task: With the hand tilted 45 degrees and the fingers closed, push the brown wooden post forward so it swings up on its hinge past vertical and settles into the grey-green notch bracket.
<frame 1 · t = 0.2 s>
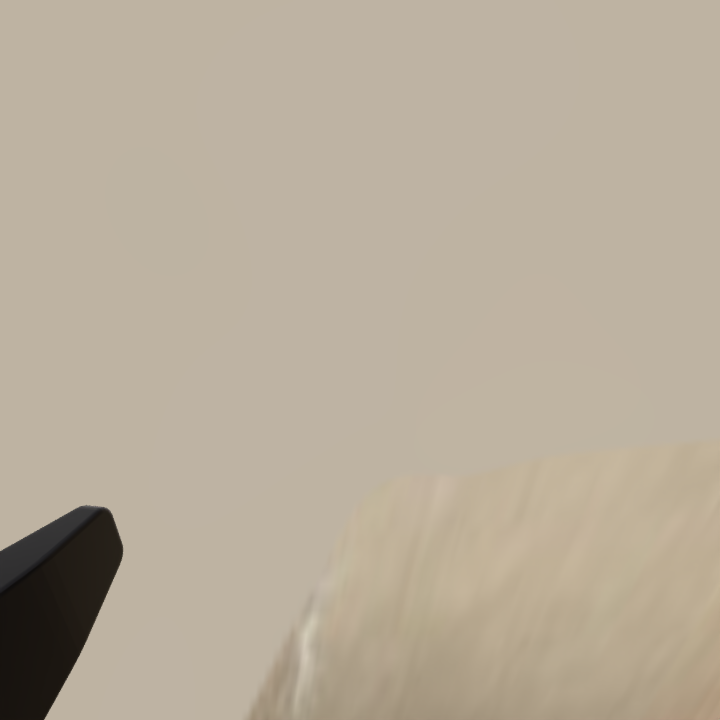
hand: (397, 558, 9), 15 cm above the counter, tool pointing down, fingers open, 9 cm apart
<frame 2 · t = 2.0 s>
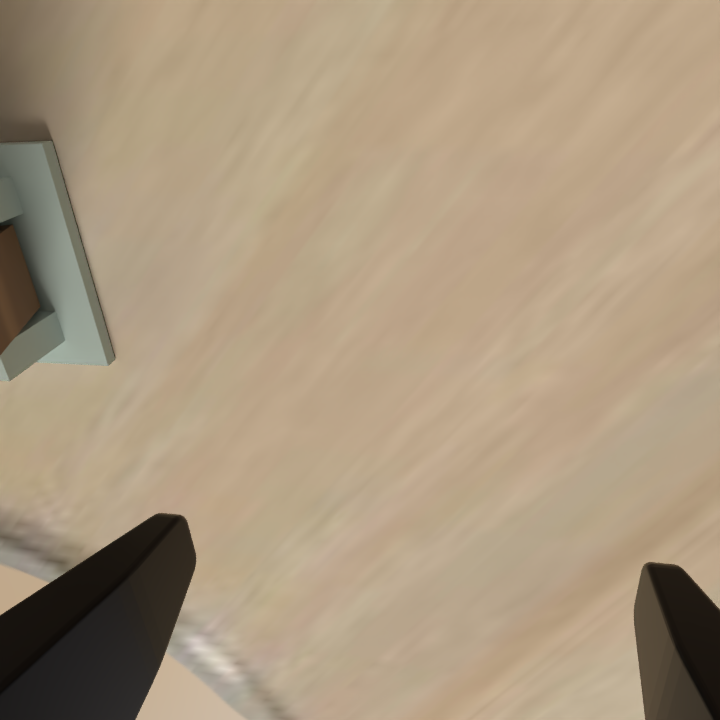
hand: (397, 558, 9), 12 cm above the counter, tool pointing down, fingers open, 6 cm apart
bracket: (13, 259, 22), on the counter
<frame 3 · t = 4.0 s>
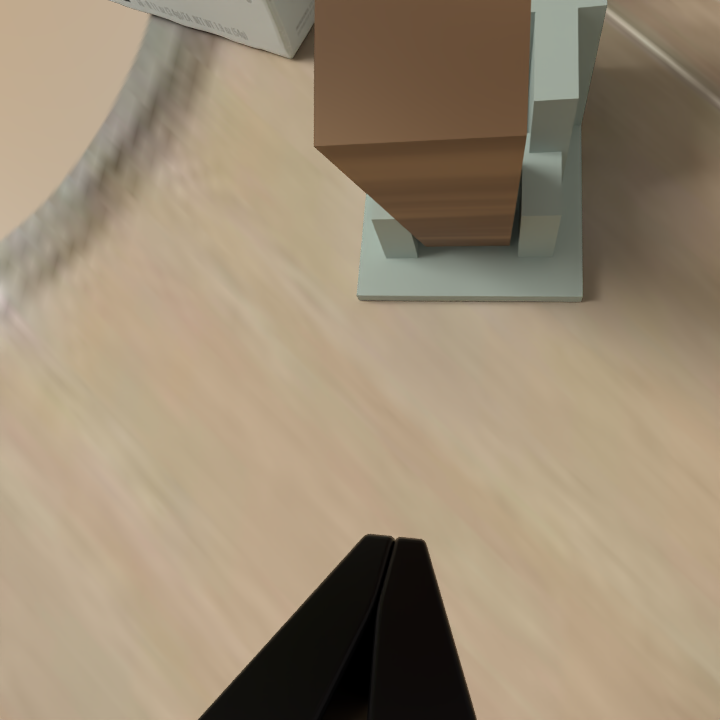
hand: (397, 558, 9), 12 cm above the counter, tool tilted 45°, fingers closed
brown wooden post: (453, 166, 15), point 8 cm above the counter, hinge at -20.0°
bracket: (469, 226, 23), on the counter
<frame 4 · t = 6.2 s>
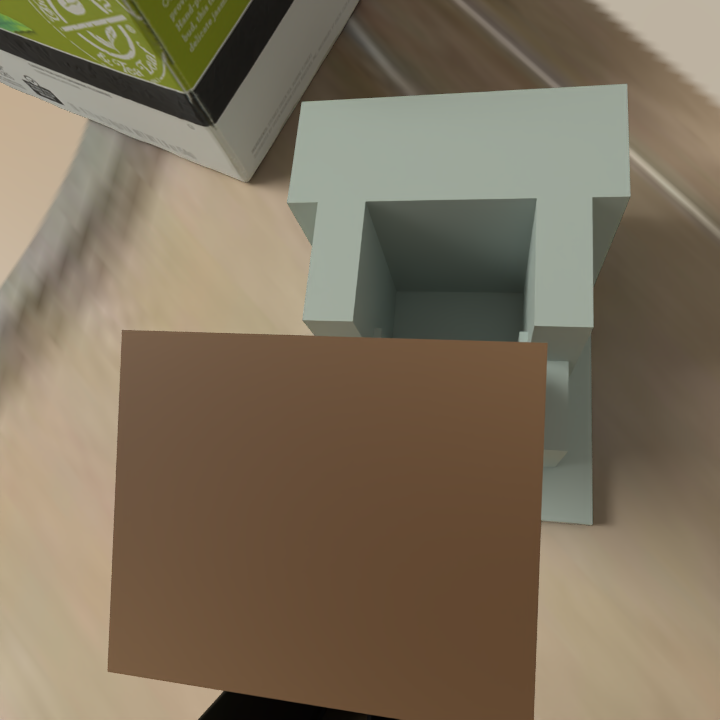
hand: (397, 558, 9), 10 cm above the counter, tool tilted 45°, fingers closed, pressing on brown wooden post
brown wooden post: (424, 426, 11), point 8 cm above the counter, hinge at -15.9°, touching gripper
bracket: (452, 413, 19), on the counter
tea box: (171, 46, 26), on the counter
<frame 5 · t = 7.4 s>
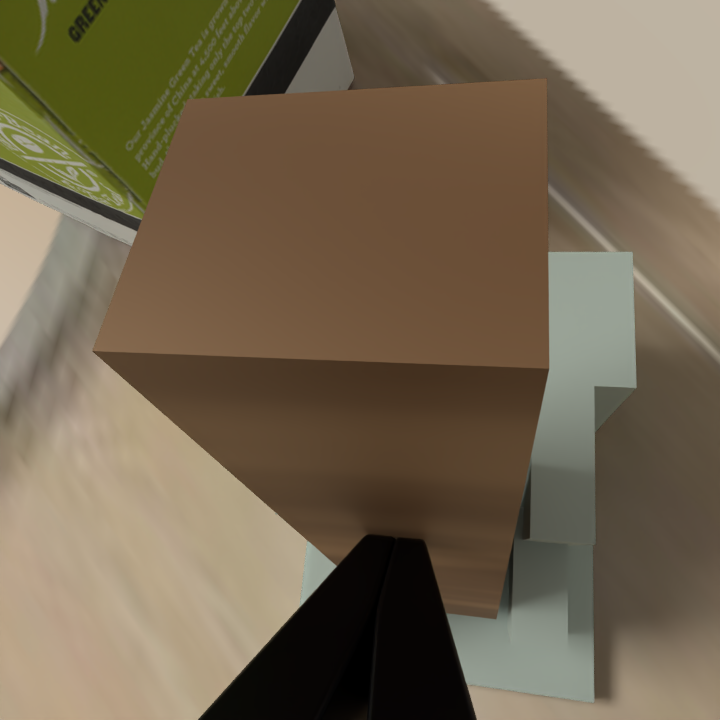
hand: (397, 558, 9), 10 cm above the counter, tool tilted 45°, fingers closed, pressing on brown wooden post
brown wooden post: (418, 487, 10), point 8 cm above the counter, hinge at 11.3°, touching gripper
bracket: (443, 561, 18), on the counter
tea box: (150, 132, 25), on the counter
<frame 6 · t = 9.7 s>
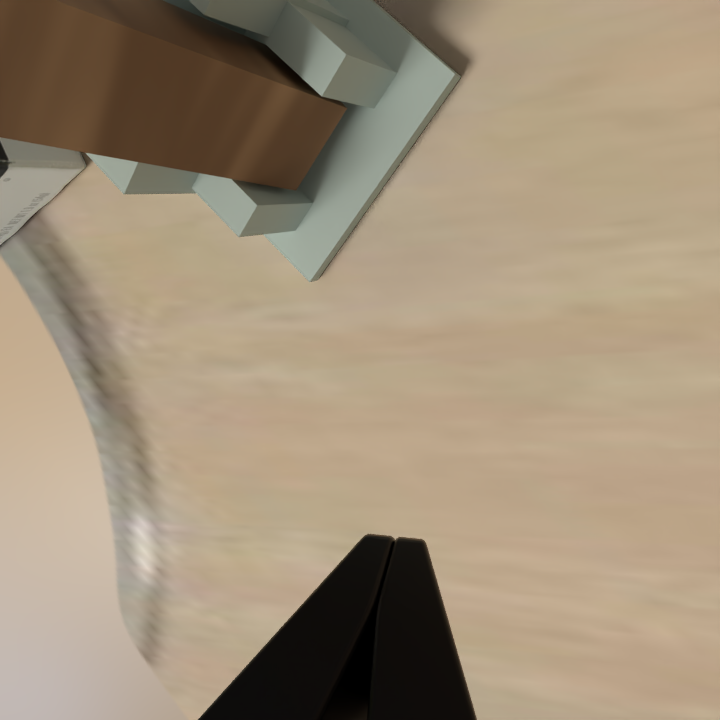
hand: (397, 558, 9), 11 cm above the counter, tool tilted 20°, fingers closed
brown wooden post: (83, 61, 14), point 8 cm above the counter, hinge at 11.4°
bracket: (319, 129, 20), on the counter
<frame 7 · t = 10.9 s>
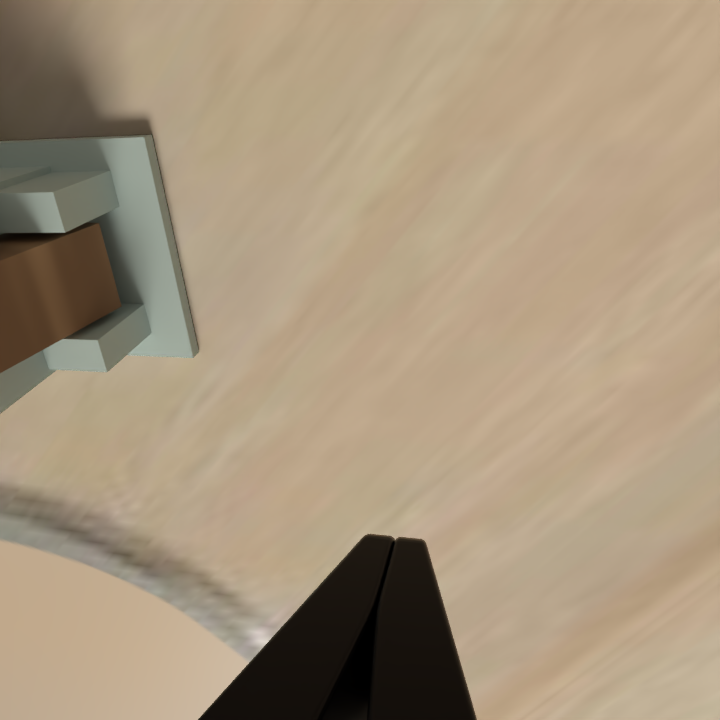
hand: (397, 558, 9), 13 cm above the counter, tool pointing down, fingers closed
bracket: (102, 252, 22), on the counter
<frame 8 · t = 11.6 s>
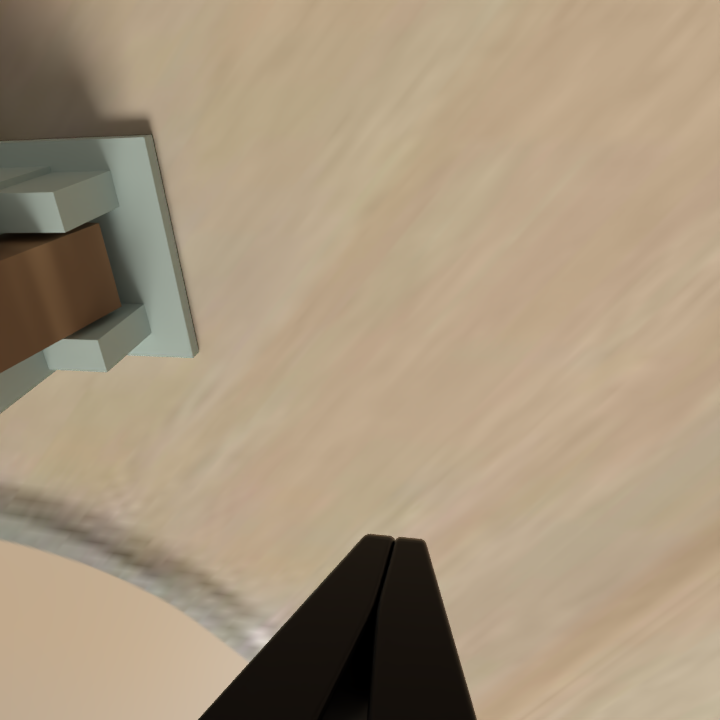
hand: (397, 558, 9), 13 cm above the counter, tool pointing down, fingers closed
bracket: (102, 252, 22), on the counter
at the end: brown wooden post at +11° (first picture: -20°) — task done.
